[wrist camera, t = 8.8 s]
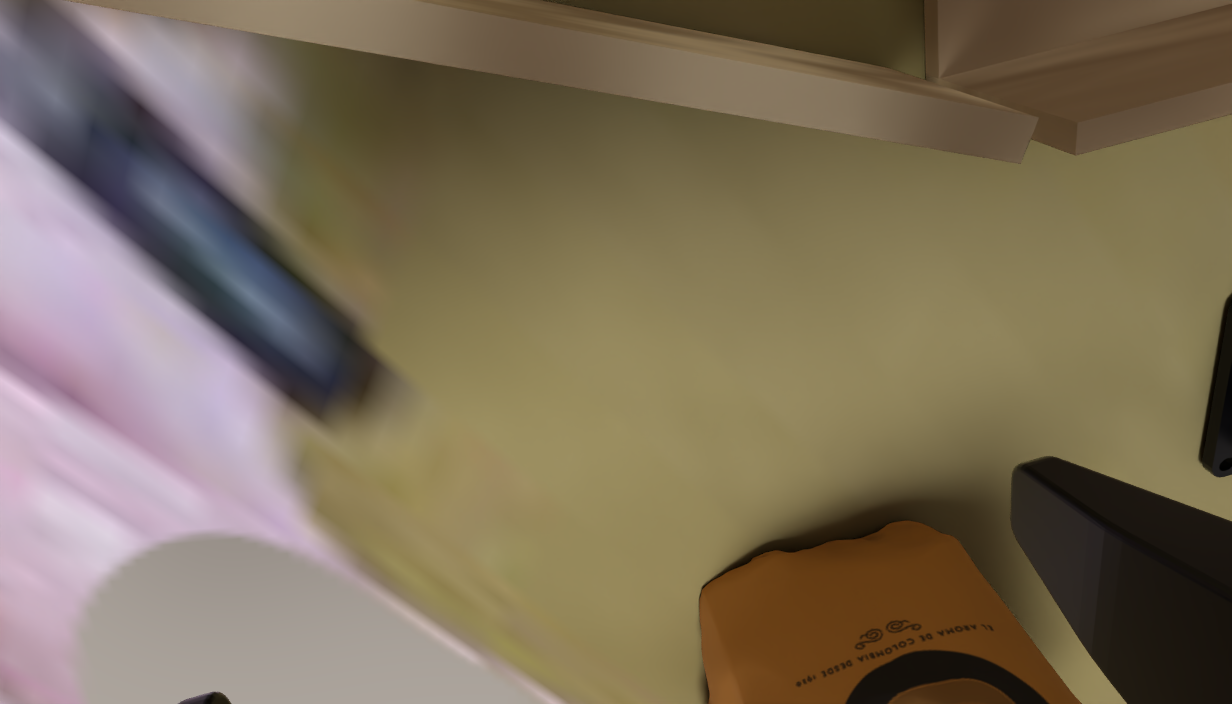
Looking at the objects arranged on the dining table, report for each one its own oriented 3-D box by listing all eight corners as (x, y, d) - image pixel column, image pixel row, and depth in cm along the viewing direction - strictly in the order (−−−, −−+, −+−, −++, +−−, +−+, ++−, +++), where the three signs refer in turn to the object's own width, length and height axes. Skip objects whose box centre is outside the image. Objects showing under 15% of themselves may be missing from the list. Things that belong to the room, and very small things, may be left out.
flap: (887, 68, 19) (1038, 117, 14) (875, 107, 19) (1018, 169, 14) (62, -93, 15) (-126, -101, 10) (67, -39, 15) (-113, -22, 11)
